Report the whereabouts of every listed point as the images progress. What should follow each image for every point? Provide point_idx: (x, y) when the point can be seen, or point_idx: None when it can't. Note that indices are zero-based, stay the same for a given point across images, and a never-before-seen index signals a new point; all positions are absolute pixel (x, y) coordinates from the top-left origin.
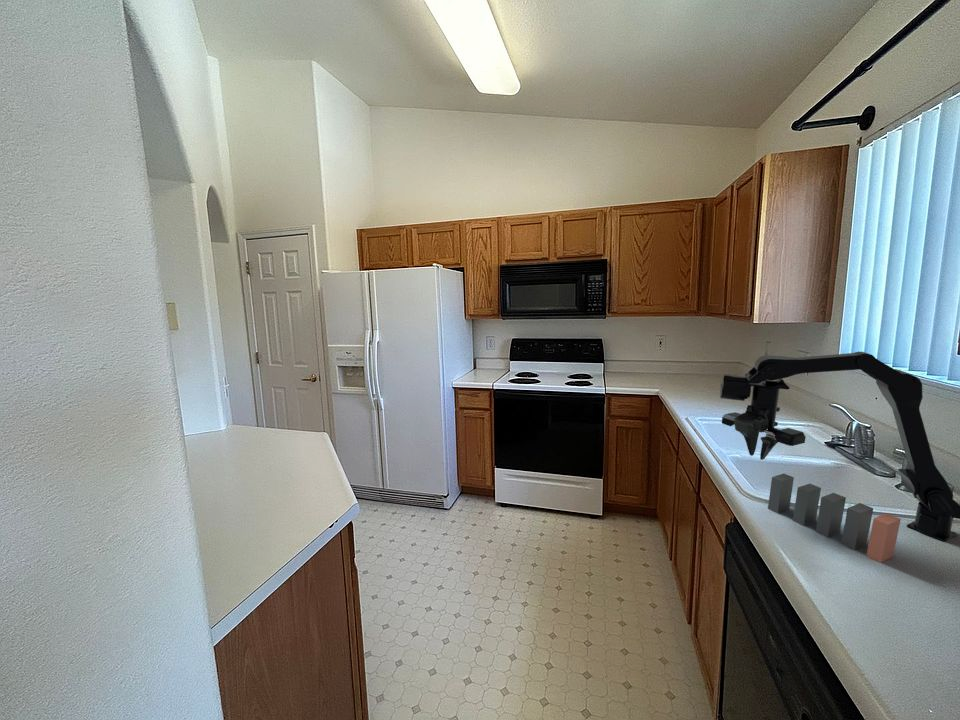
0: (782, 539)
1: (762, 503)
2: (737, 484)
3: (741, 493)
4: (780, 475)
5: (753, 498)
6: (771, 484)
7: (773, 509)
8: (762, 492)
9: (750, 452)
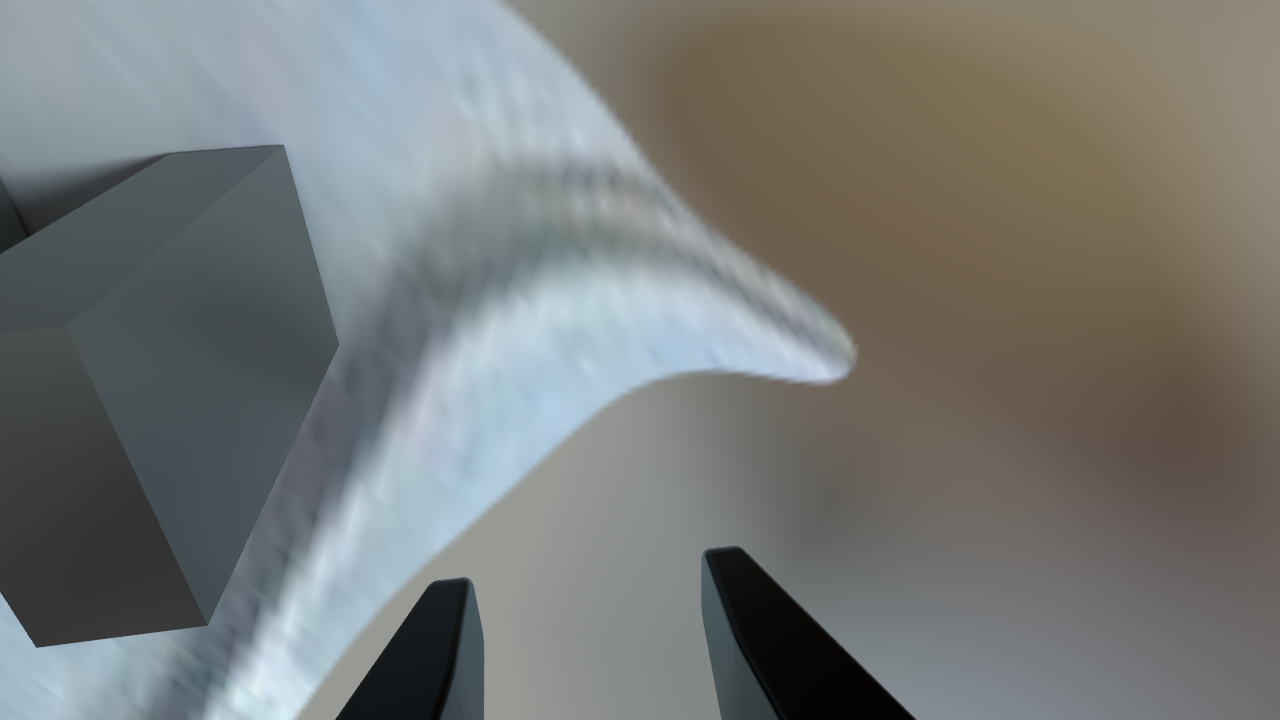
0: None
1: (410, 208)
2: (797, 324)
3: (652, 191)
4: (128, 522)
5: (524, 215)
6: (139, 264)
7: (212, 155)
8: (586, 406)
9: (739, 596)
